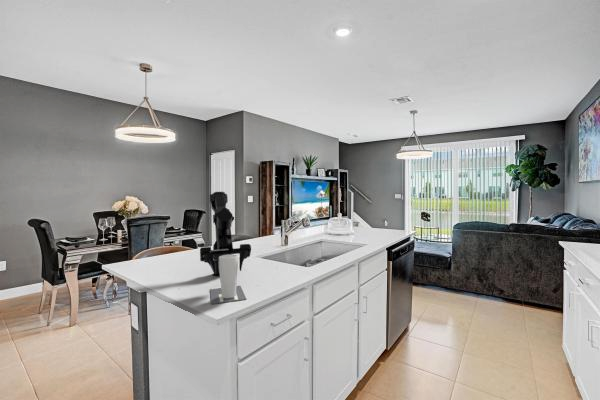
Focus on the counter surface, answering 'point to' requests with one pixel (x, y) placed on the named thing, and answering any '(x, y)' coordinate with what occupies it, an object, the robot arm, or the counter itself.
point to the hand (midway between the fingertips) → (227, 271)
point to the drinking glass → (228, 275)
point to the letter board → (217, 298)
